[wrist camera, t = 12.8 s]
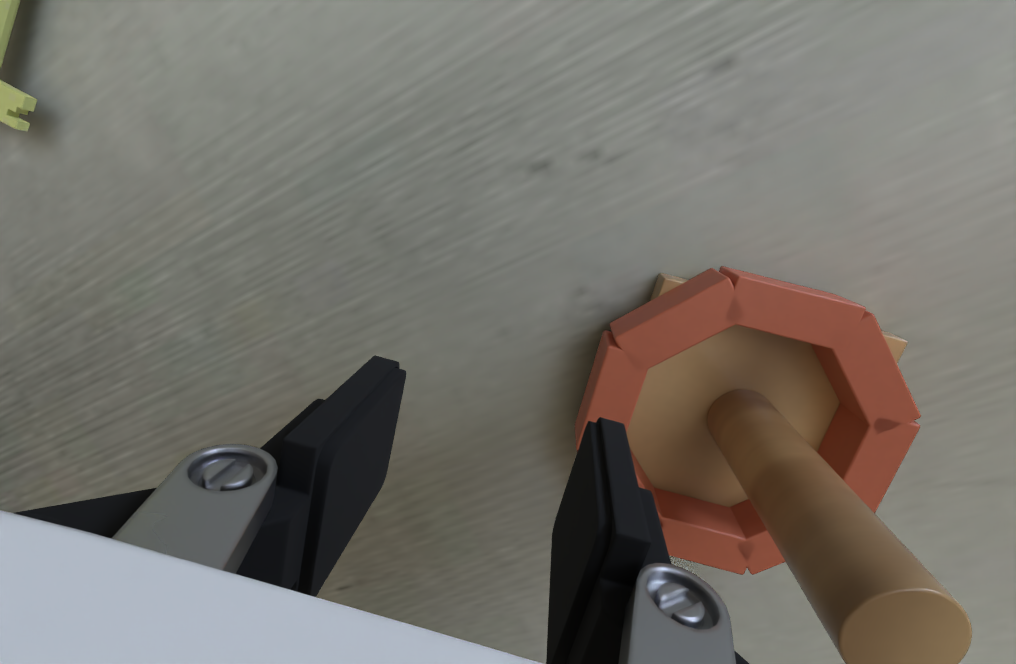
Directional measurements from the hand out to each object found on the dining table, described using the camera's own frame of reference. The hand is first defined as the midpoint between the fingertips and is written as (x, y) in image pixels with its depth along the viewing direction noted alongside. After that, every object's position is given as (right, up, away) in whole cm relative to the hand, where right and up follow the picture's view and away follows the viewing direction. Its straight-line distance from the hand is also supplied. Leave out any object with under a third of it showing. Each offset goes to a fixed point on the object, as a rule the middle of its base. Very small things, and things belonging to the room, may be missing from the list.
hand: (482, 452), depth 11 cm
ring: (+8, 0, +6) cm, 10 cm away
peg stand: (+9, 0, +7) cm, 11 cm away
